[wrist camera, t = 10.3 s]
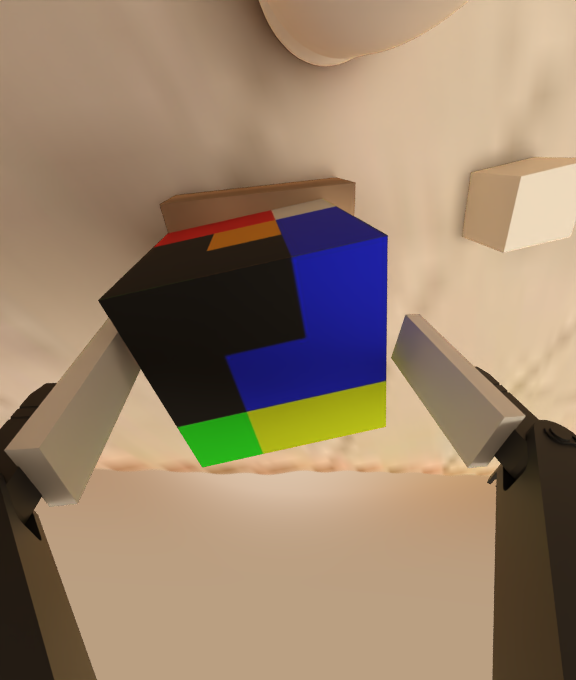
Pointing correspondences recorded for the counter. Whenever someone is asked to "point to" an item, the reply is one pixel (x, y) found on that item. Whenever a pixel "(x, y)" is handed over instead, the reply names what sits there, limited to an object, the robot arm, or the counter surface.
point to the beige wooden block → (521, 203)
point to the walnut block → (252, 201)
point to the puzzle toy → (262, 329)
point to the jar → (351, 25)
